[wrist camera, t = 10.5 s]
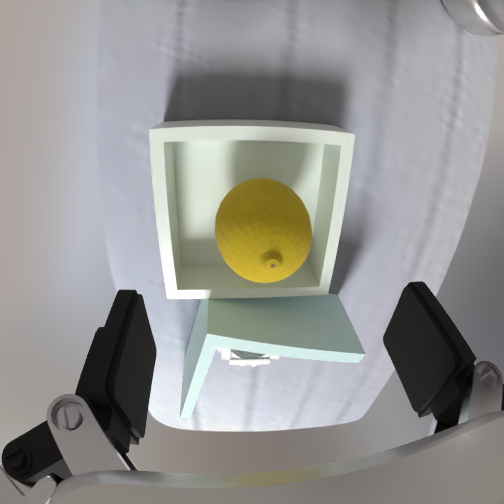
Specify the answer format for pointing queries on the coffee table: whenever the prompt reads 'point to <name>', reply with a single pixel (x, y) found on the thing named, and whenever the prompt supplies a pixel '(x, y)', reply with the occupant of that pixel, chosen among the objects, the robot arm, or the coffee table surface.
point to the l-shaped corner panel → (266, 335)
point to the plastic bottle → (478, 15)
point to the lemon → (263, 230)
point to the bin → (225, 179)
